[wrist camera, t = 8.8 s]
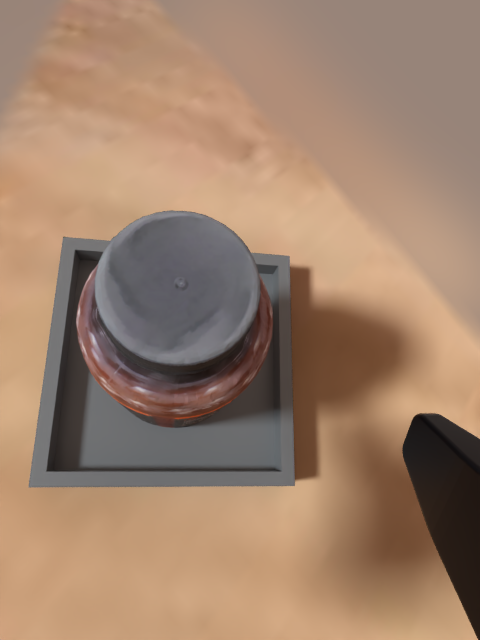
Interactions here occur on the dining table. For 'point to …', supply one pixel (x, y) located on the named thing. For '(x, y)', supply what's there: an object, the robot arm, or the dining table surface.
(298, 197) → the dining table surface
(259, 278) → the supplement bottle
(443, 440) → the robot arm
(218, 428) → the tray
